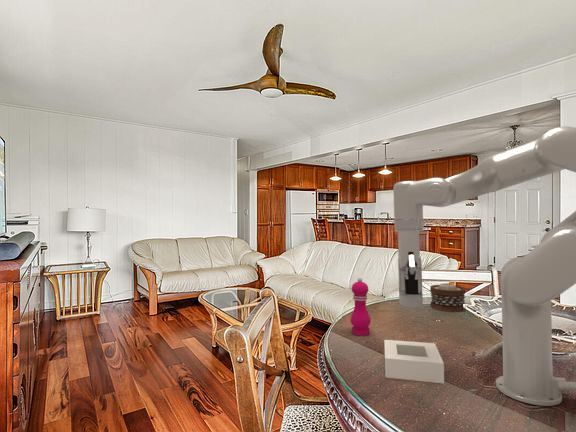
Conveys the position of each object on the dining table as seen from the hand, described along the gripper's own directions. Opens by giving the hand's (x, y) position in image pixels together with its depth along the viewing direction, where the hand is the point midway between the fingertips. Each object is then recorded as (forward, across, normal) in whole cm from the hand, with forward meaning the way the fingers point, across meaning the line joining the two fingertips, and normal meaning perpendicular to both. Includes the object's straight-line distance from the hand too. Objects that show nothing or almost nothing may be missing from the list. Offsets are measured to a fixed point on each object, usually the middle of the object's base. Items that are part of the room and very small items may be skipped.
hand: (410, 291), depth 93 cm
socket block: (+21, 0, 0) cm, 21 cm away
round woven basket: (+22, -70, +22) cm, 76 cm away
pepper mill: (+21, -27, -15) cm, 38 cm away
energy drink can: (+5, 0, 0) cm, 5 cm away
